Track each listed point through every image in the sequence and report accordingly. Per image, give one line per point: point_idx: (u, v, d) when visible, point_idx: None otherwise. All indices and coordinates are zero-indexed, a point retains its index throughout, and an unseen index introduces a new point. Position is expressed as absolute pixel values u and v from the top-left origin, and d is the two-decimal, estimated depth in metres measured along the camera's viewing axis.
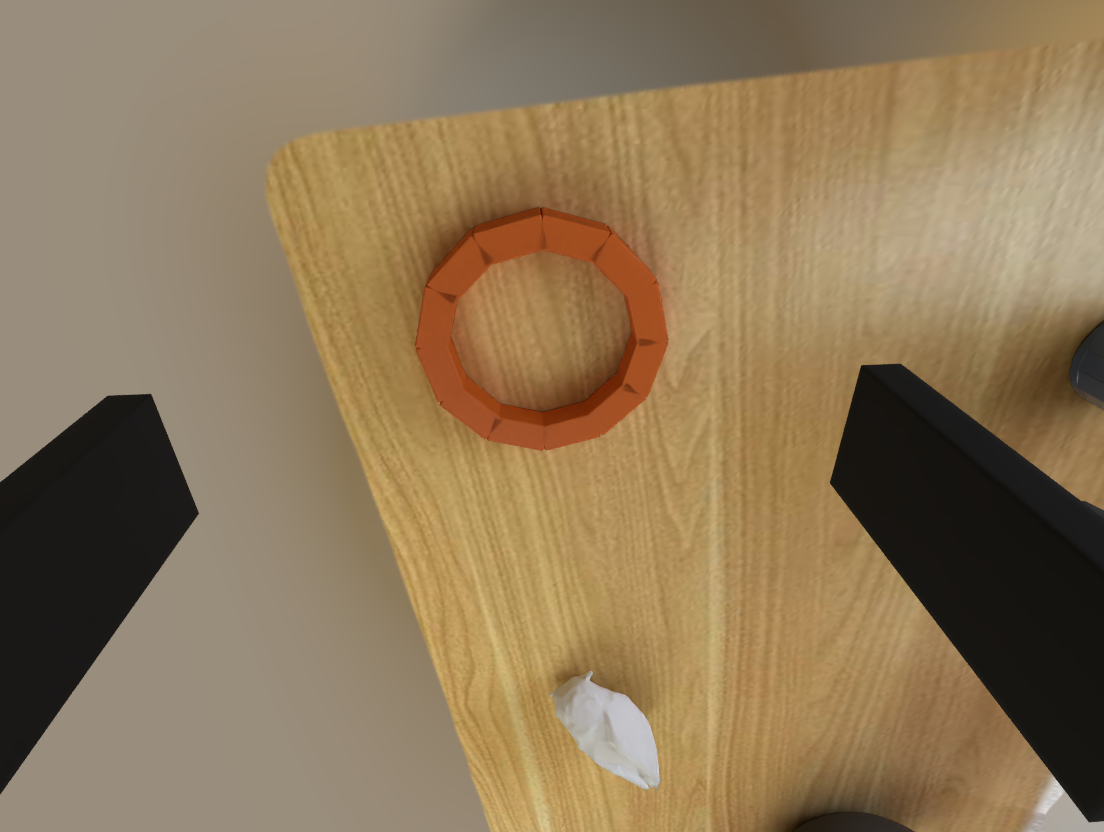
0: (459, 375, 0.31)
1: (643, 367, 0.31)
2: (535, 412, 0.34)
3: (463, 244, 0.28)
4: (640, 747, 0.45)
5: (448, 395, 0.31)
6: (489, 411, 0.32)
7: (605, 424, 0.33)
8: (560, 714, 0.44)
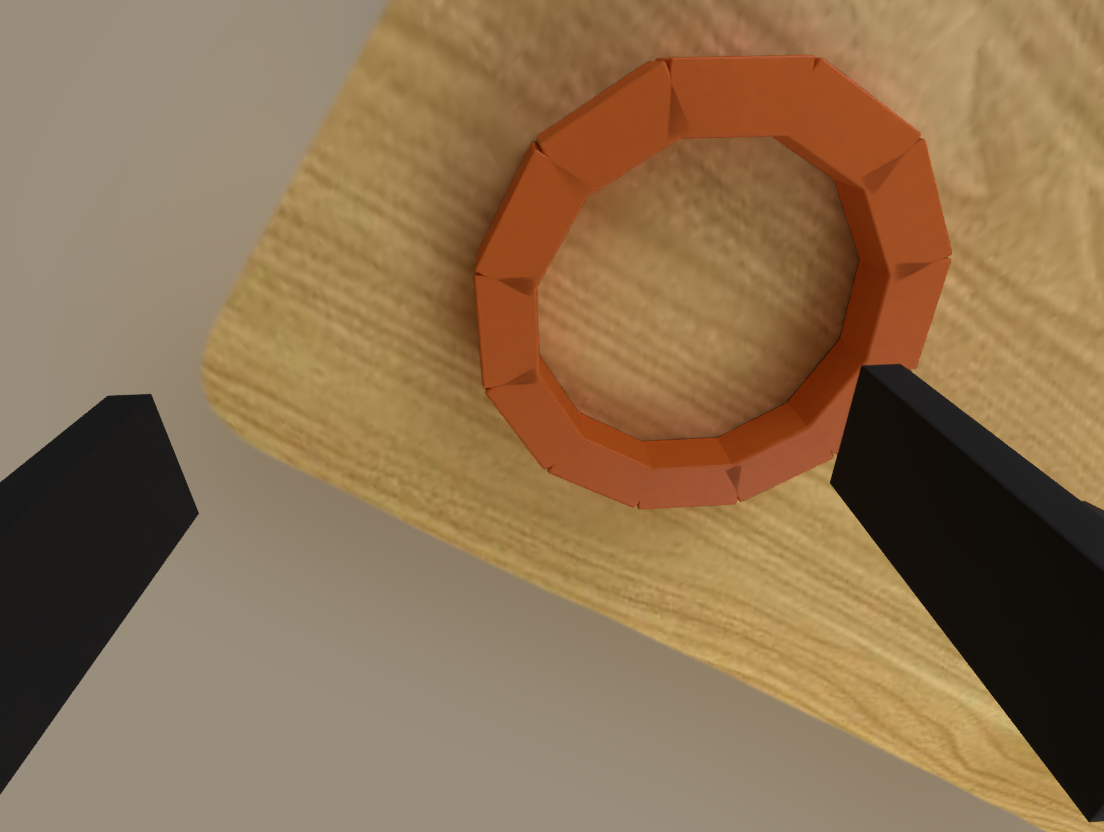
0: (630, 456, 0.18)
1: (907, 216, 0.15)
2: (777, 411, 0.19)
3: (476, 296, 0.15)
4: None
5: (639, 491, 0.19)
6: (711, 468, 0.18)
7: (908, 351, 0.17)
8: None
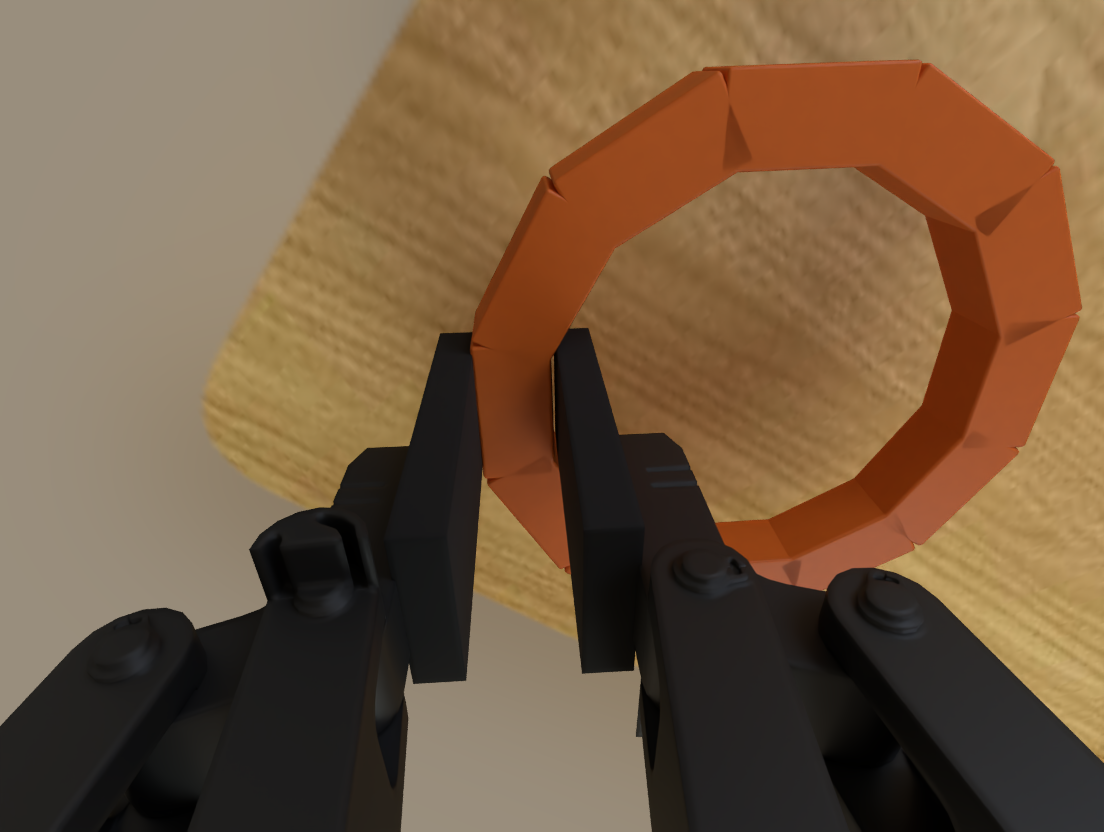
0: None
1: (1029, 265, 0.12)
2: (842, 490, 0.16)
3: (474, 372, 0.12)
4: None
5: None
6: (764, 564, 0.15)
7: (1015, 426, 0.13)
8: None
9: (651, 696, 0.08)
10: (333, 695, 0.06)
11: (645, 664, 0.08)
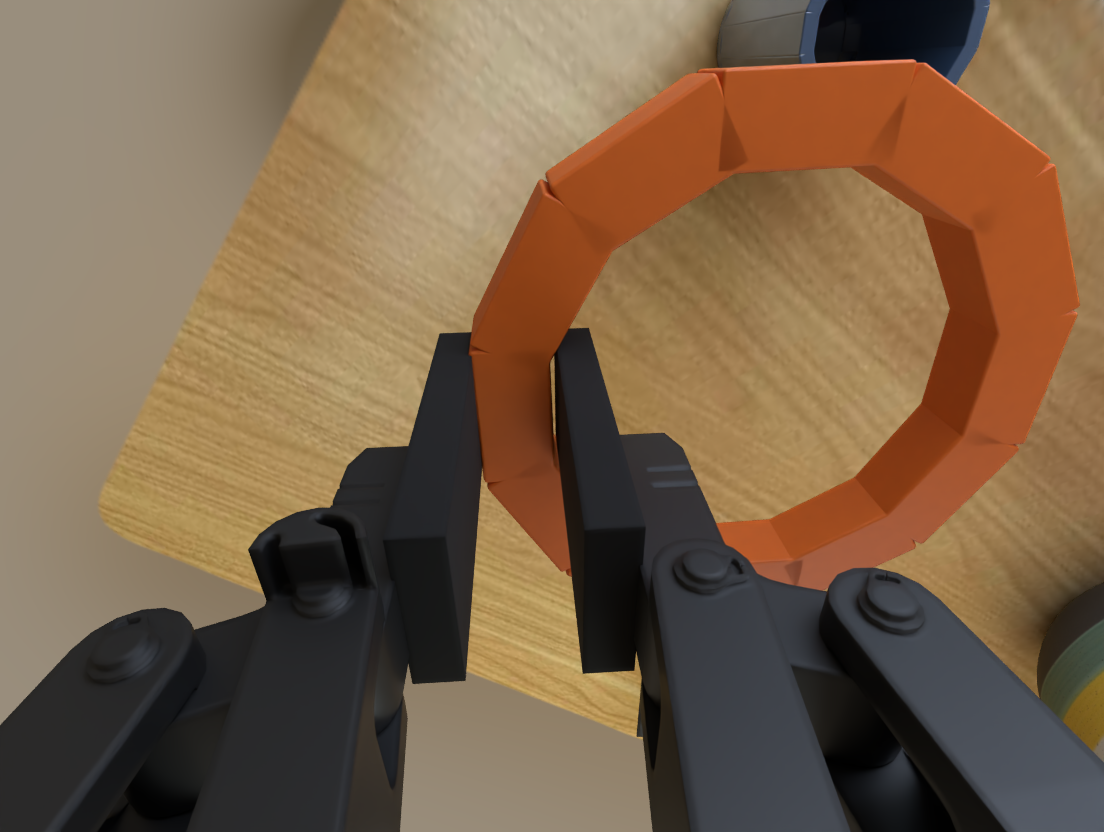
0: None
1: (1026, 262, 0.12)
2: (842, 488, 0.16)
3: (473, 376, 0.12)
4: None
5: None
6: (766, 564, 0.15)
7: (1015, 423, 0.13)
8: None
9: (652, 697, 0.08)
10: (332, 695, 0.06)
11: (646, 664, 0.08)
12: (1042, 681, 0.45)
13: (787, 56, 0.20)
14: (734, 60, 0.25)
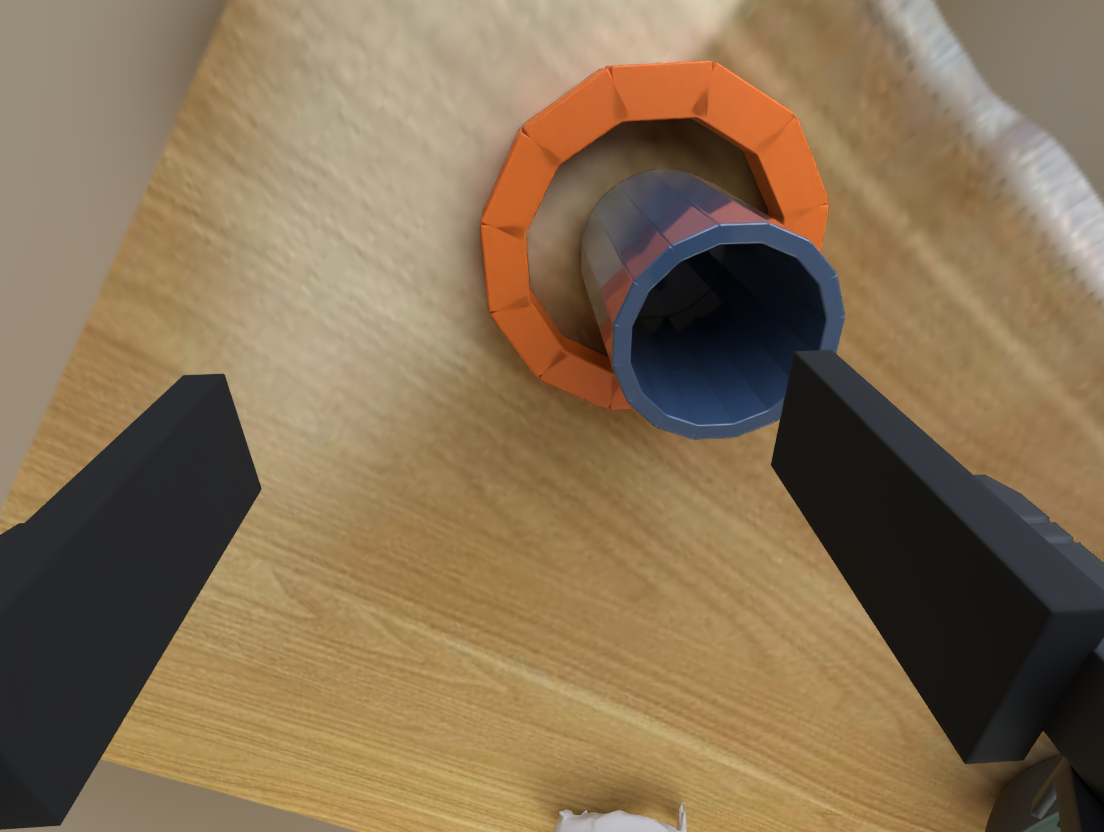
0: (602, 366, 0.24)
1: (792, 174, 0.21)
2: None
3: (482, 241, 0.21)
4: None
5: (610, 394, 0.25)
6: None
7: None
8: None
9: (1084, 780, 0.07)
10: None
11: (1091, 743, 0.07)
12: None
13: (607, 352, 0.17)
14: (587, 291, 0.21)
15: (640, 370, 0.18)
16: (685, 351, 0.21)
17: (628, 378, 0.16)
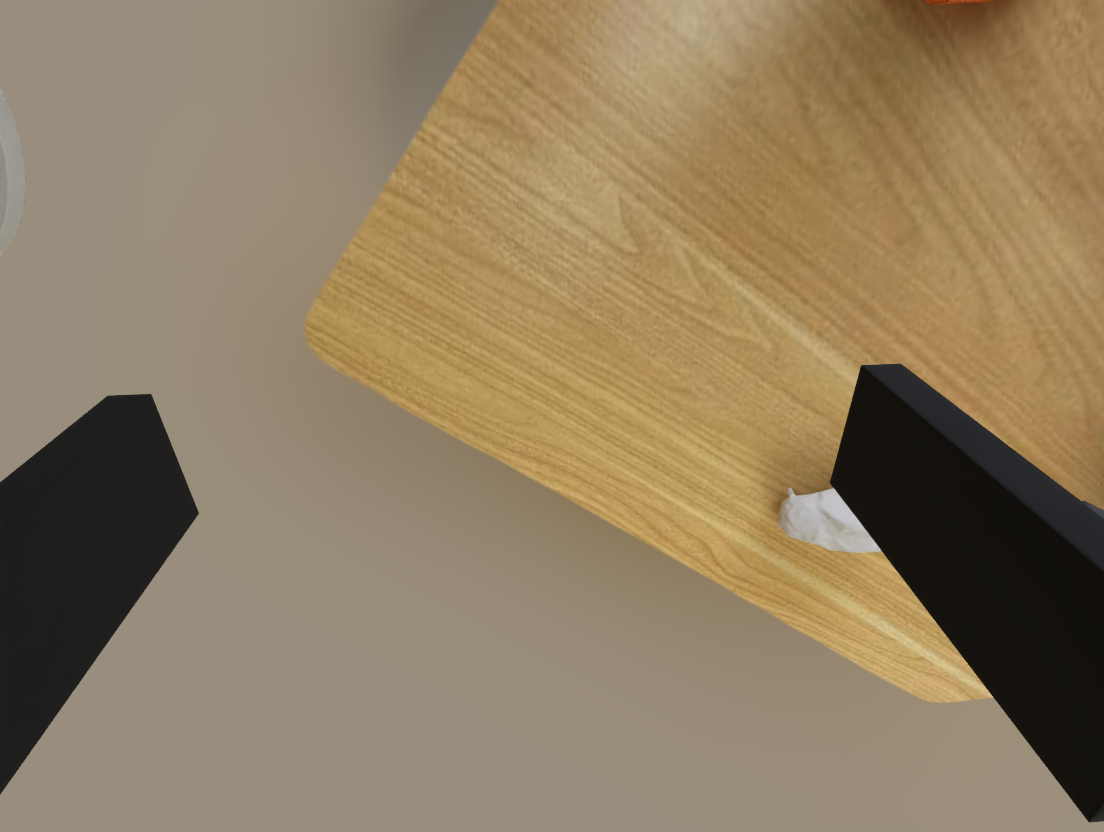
0: None
1: None
2: None
3: None
4: None
5: None
6: None
7: None
8: (790, 534, 0.48)
9: None
10: None
11: None
12: None
13: None
14: None
15: None
16: None
17: None
